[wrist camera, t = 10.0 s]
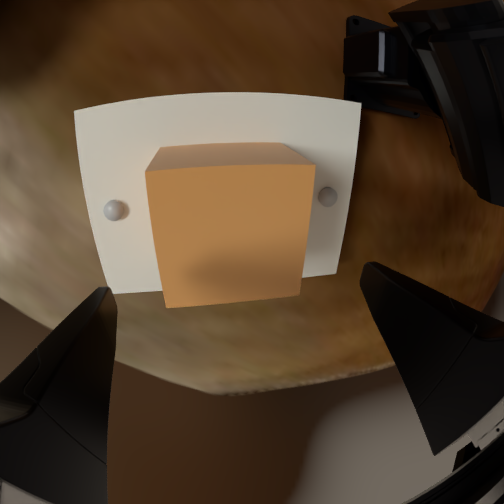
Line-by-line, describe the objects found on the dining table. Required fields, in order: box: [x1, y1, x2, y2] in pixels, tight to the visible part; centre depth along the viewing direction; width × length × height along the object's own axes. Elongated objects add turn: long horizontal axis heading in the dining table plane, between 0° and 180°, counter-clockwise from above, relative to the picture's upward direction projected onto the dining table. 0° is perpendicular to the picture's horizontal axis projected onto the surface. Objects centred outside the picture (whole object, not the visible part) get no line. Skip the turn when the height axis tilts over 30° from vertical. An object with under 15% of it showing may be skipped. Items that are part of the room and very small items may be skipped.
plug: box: [145, 142, 316, 308], centre depth 15 cm, size 6×6×7 cm
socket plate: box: [74, 92, 361, 294], centre depth 17 cm, size 16×12×2 cm
